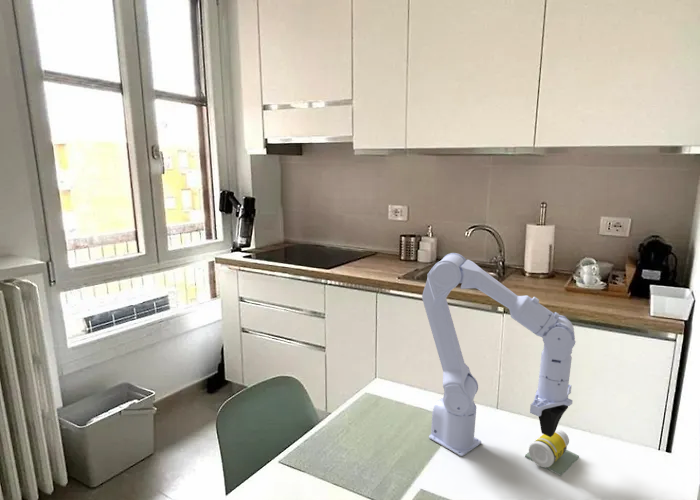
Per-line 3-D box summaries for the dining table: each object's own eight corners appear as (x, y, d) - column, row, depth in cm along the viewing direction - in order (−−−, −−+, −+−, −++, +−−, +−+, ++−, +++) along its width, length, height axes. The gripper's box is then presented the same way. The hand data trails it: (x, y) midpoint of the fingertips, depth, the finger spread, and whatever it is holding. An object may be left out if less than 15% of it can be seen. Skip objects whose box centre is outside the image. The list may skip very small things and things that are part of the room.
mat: (525, 457, 103) (525, 455, 103) (544, 441, 109) (544, 439, 109) (560, 475, 97) (561, 473, 97) (579, 457, 103) (579, 455, 103)
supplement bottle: (557, 461, 96) (577, 442, 102) (538, 438, 99) (558, 421, 105) (541, 472, 99) (561, 453, 106) (523, 450, 102) (543, 433, 108)
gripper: (557, 393, 89) (550, 456, 92) (588, 371, 98) (581, 429, 101) (522, 380, 94) (516, 440, 97) (555, 360, 104) (549, 415, 106)
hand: (547, 433), depth 99 cm, fingers closed
